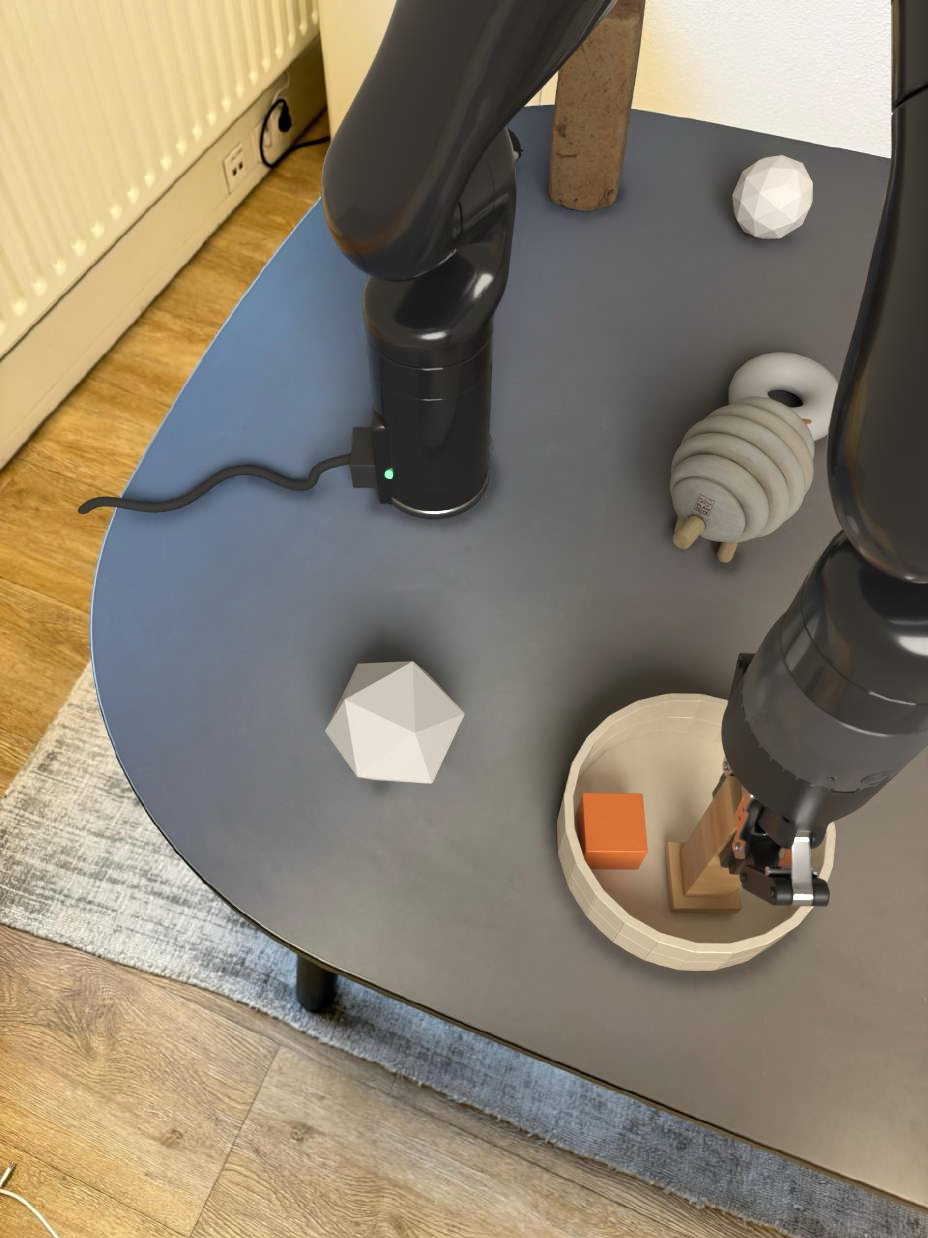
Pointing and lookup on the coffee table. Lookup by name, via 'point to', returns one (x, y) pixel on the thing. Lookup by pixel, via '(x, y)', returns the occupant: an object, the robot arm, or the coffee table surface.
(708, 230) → the coffee table surface
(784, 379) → the donut
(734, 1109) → the coffee table surface
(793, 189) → the geometric ball
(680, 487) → the toy sheep
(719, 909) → the wooden pillar
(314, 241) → the coffee table surface
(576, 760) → the bowl
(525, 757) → the coffee table surface
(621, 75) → the block
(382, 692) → the die
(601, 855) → the orange block
